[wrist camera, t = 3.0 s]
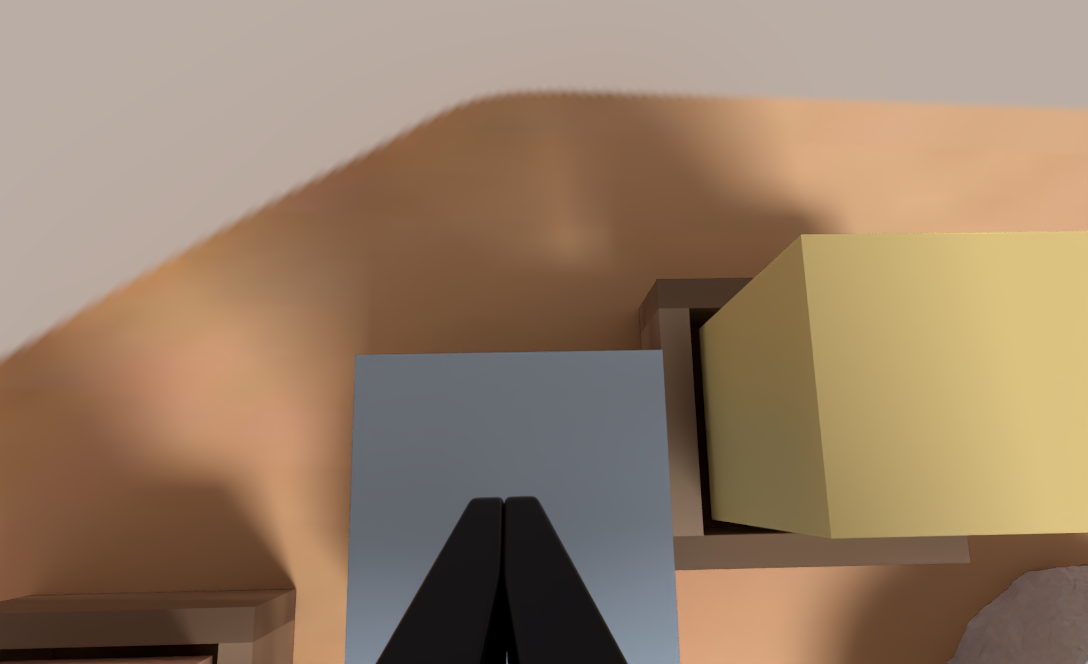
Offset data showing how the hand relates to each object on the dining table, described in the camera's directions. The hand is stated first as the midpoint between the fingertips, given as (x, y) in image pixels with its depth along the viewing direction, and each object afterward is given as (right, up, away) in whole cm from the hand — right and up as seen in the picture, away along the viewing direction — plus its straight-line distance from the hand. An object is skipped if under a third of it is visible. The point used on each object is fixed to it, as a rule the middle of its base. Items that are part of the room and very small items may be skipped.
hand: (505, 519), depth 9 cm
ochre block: (+7, 0, +10) cm, 12 cm away
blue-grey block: (0, -2, +9) cm, 10 cm away
